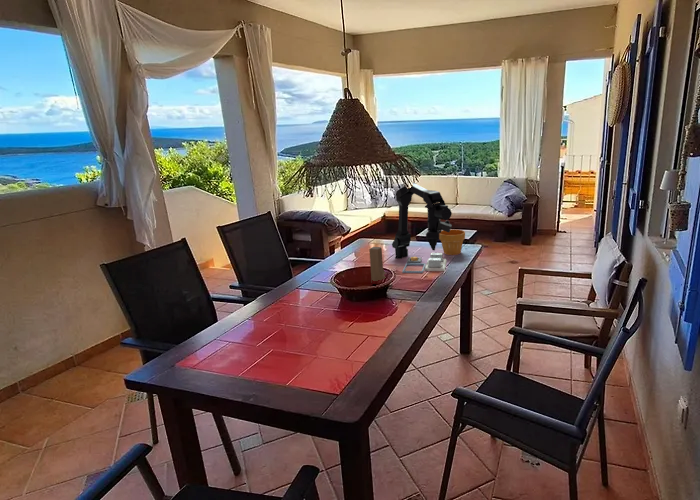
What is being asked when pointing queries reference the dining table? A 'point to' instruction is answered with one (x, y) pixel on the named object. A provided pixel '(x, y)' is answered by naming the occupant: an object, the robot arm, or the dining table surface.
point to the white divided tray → (443, 266)
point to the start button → (414, 258)
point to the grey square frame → (414, 261)
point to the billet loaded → (437, 256)
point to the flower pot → (452, 241)
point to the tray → (414, 271)
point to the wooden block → (376, 264)
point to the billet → (434, 262)
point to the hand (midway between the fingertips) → (434, 247)
